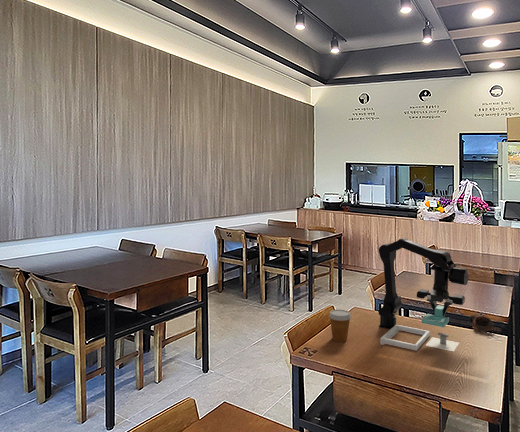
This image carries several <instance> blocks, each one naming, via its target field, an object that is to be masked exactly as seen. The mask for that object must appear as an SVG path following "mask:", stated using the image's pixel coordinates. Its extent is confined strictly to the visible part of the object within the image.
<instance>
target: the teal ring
mask: <svg viewBox="0 0 520 432" xmlns="http://www.w3.org/2000/svg"><path fill="white" fill-rule="evenodd" d="M443 309H444V305H439V304H438V305H437V306H436V307H435V313H434V312H433V314H430V313H427V314H425V315H424V317H422V318H421V324H424V325H430V326H434V327H435V326H436V327H441V328H446V326H447V325H448V323H449V322H450V317H446V316H444V317H443Z"/></svg>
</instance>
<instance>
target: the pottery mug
mask: <svg viewBox="0 0 520 432" xmlns="http://www.w3.org/2000/svg"><path fill="white" fill-rule="evenodd" d="M468 319H469V321H470V323H471V324H472V327H473V331H474V332H476V333H487V332H489V331H492V330H494V327H493V326H494V323H493V322H492V319H491V318H490V317H488V316H485V315H478V316H476V315H473V314H472V315H470V316H469V318H468Z"/></svg>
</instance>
